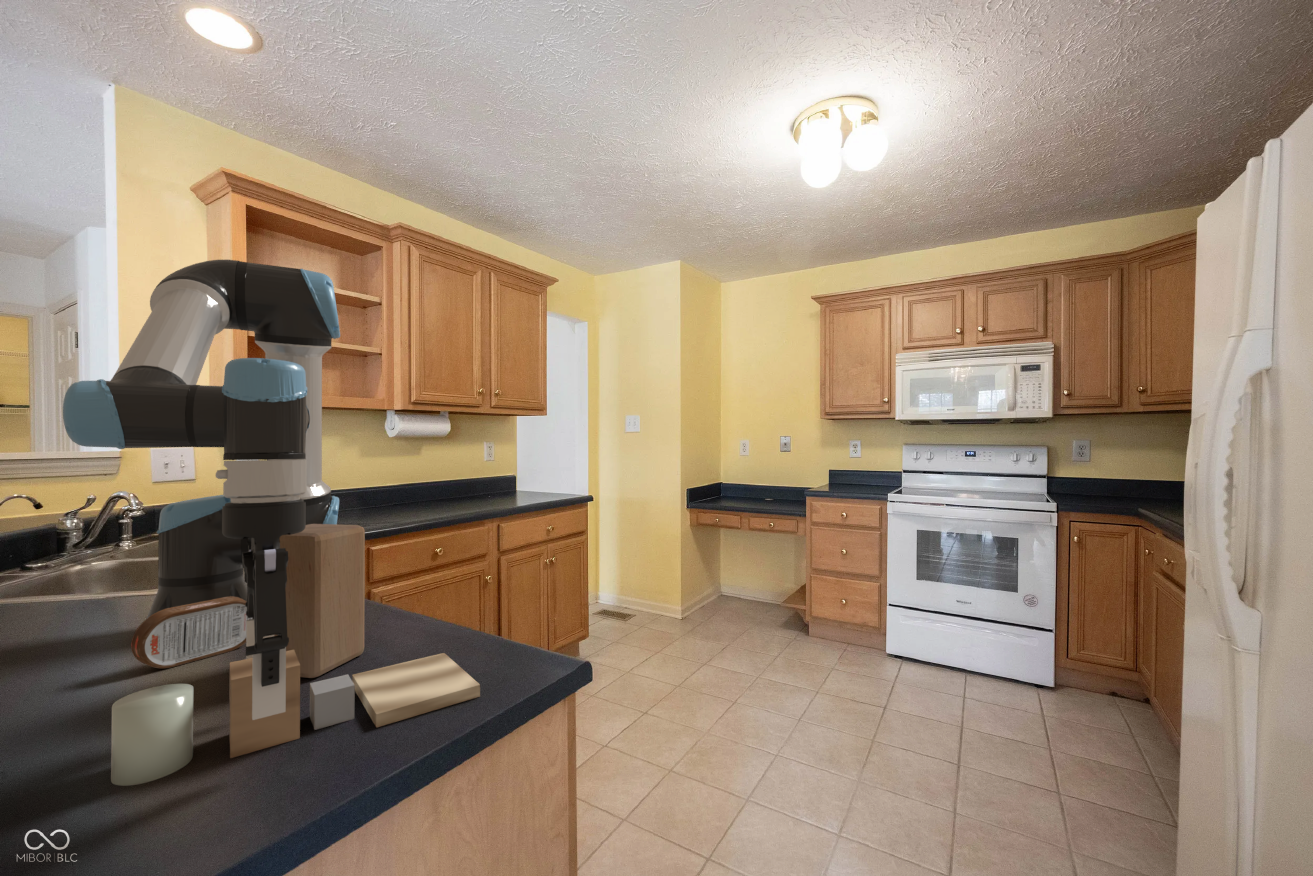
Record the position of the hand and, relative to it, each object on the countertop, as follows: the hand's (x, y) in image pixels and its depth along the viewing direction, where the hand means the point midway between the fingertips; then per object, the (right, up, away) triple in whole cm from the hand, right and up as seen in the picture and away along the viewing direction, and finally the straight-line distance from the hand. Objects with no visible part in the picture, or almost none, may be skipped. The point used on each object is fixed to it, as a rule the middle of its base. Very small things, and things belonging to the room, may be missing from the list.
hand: (264, 692), depth 60 cm
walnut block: (0, -5, 0) cm, 5 cm away
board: (+12, -5, +11) cm, 17 cm away
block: (-7, -6, +20) cm, 22 cm away
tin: (-26, -6, +23) cm, 35 cm away
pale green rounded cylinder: (-7, -5, -6) cm, 10 cm away
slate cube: (+5, -5, +4) cm, 8 cm away
